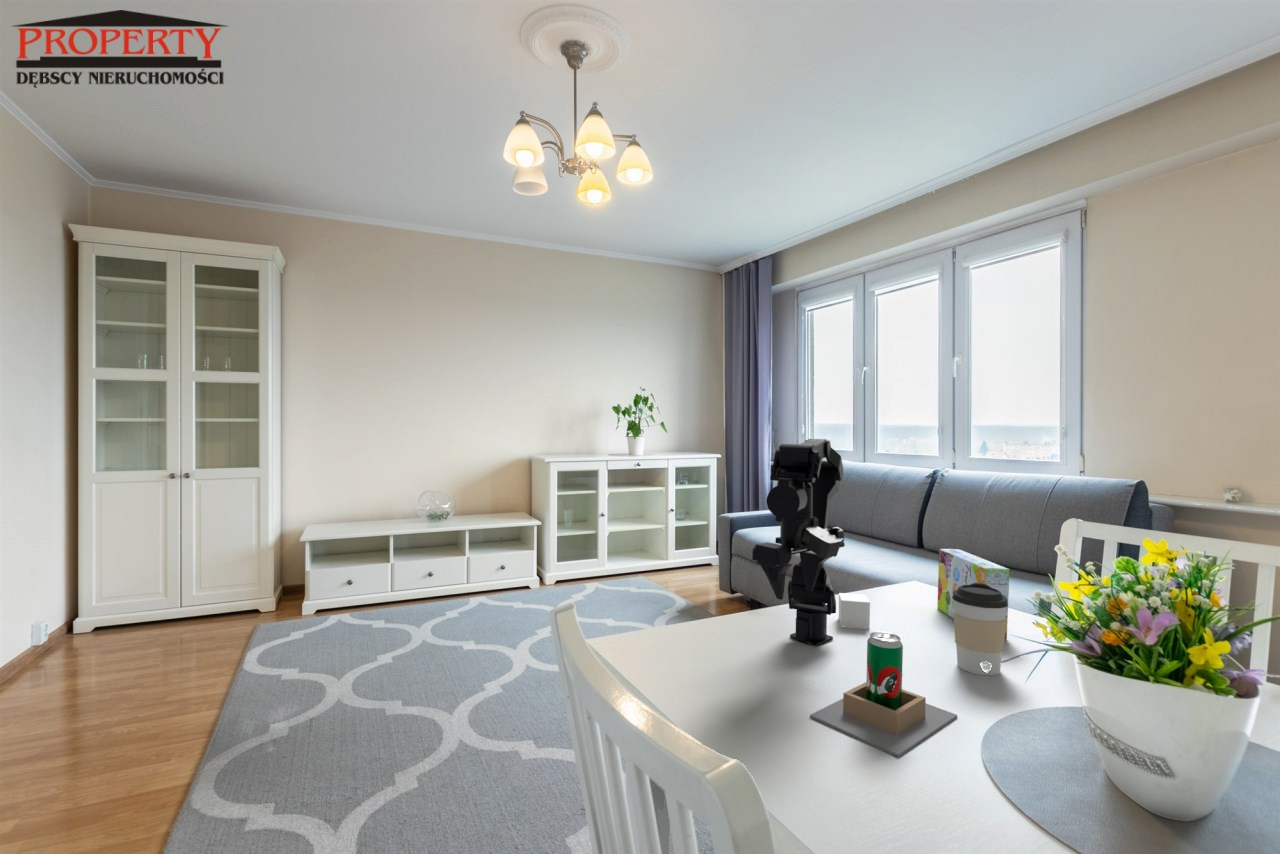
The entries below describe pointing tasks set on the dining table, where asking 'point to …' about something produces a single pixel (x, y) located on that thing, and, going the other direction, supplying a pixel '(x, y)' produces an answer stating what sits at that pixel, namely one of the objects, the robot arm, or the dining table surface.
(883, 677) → the soda can
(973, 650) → the coffee cup
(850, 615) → the white cube
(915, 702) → the can holder
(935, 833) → the dining table surface
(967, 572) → the snack box
